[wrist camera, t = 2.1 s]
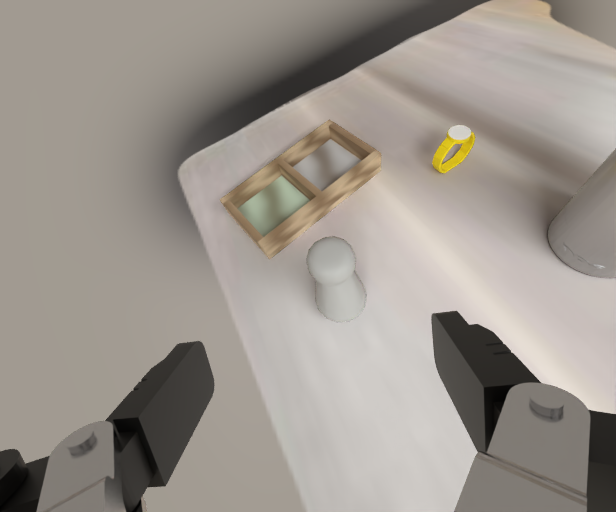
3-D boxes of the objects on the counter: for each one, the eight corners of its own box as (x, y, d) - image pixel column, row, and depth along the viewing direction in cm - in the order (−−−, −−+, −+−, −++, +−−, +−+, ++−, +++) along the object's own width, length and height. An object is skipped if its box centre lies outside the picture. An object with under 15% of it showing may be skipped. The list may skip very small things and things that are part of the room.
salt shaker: (314, 289, 39) (290, 235, 28) (357, 276, 39) (351, 216, 28) (326, 333, 37) (304, 293, 25) (373, 320, 36) (373, 273, 25)
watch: (456, 151, 46) (469, 115, 41) (471, 162, 45) (486, 126, 39) (425, 170, 45) (434, 136, 40) (439, 182, 43) (450, 147, 38)
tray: (330, 136, 52) (327, 118, 49) (380, 170, 46) (381, 153, 43) (228, 212, 48) (218, 198, 45) (269, 259, 43) (261, 246, 40)
